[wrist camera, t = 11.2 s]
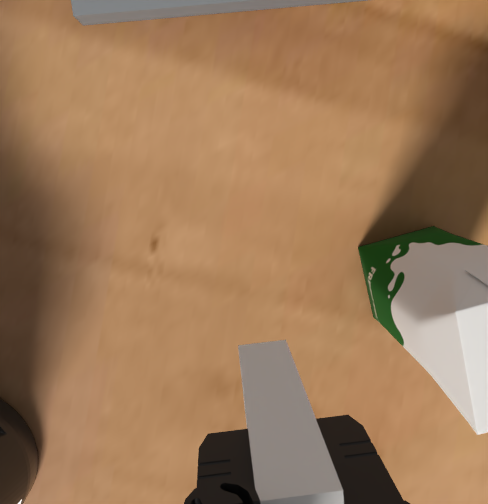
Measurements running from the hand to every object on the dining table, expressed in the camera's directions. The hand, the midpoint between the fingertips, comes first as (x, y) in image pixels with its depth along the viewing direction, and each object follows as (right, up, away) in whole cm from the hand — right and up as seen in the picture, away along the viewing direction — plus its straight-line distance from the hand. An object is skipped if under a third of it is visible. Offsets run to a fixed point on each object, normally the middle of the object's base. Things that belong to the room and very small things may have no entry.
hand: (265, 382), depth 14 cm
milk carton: (+14, +2, +28) cm, 31 cm away
